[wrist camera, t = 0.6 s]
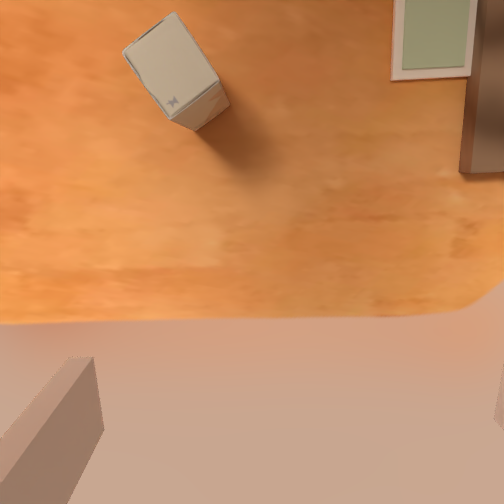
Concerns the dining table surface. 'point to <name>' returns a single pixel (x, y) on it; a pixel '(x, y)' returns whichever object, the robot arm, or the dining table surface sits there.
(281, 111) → the dining table surface
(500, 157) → the board
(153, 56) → the box
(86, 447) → the robot arm
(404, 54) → the swatch
